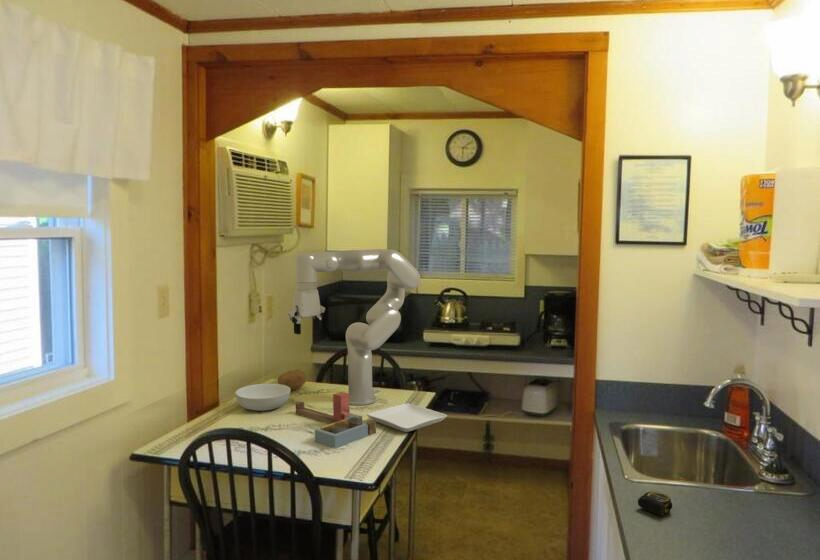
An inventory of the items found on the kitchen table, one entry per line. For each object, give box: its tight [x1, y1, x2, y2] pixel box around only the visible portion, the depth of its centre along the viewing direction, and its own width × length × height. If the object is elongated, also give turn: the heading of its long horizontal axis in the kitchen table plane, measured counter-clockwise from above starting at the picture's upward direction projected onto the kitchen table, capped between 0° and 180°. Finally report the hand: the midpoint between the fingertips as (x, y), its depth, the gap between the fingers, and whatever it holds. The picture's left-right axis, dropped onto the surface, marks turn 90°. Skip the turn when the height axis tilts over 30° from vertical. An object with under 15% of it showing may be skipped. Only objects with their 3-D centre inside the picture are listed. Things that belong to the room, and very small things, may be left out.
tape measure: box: [637, 491, 673, 517], centre depth 158 cm, size 7×7×4 cm
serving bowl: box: [234, 383, 292, 412], centre depth 246 cm, size 21×21×7 cm
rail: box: [295, 401, 377, 436], centre depth 227 cm, size 3×38×4 cm, turn 50°
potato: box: [277, 368, 307, 391], centre depth 272 cm, size 10×14×8 cm
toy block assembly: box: [319, 391, 363, 433], centre depth 217 cm, size 17×11×11 cm, turn 140°
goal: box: [314, 423, 369, 449], centre depth 210 cm, size 15×10×4 cm, turn 140°
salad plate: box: [366, 403, 448, 433], centre depth 228 cm, size 21×21×3 cm
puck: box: [331, 427, 349, 434], centre depth 211 cm, size 6×6×3 cm
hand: (307, 332), depth 239 cm, fingers open, 9 cm apart
